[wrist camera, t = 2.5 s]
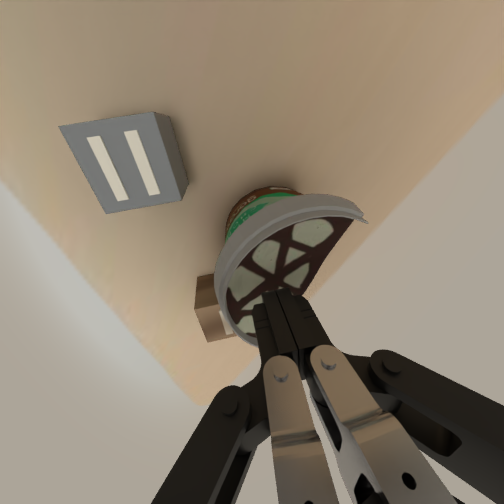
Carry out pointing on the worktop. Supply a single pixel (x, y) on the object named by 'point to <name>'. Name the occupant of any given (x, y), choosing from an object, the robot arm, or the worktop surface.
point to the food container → (275, 248)
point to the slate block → (129, 160)
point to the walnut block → (210, 311)
